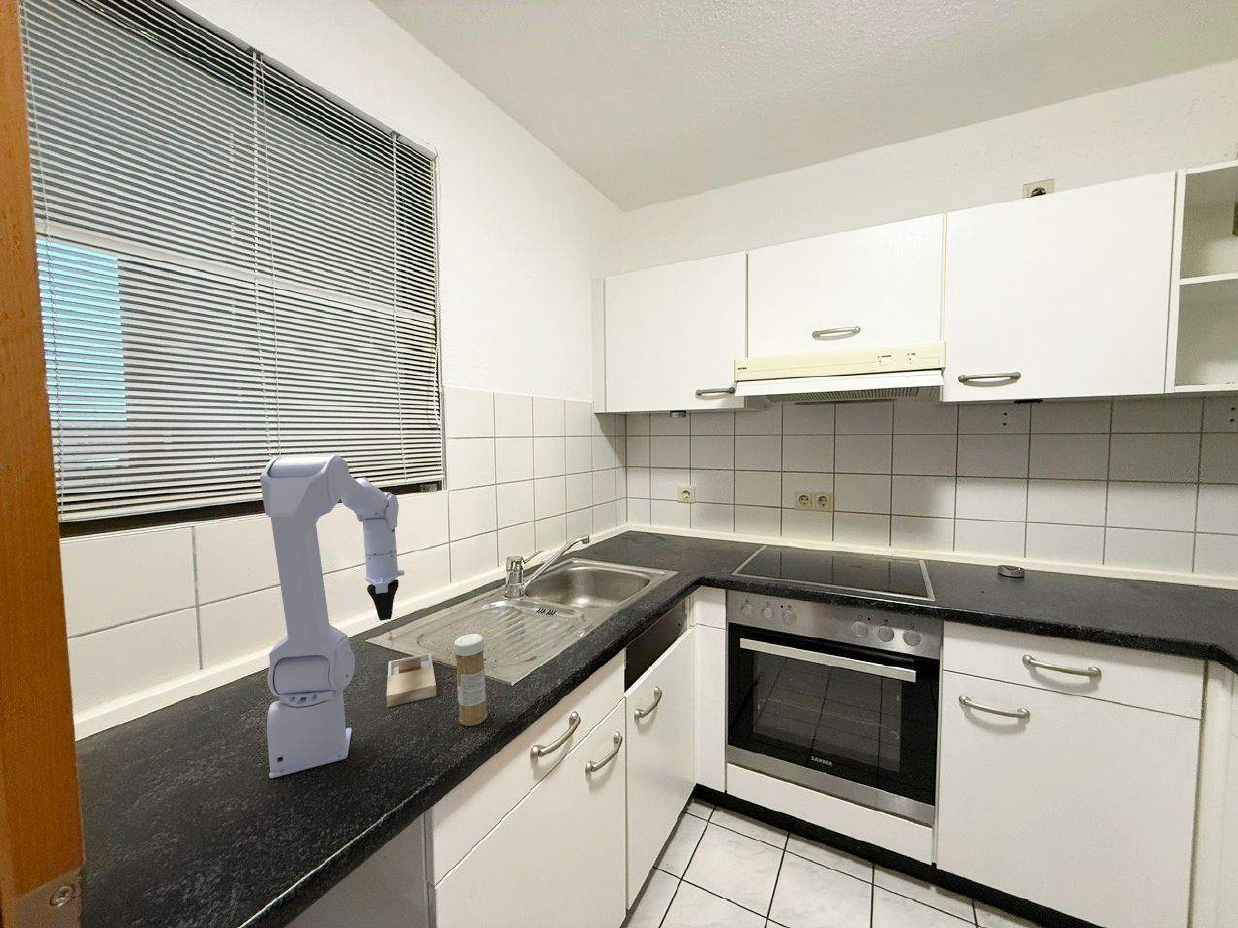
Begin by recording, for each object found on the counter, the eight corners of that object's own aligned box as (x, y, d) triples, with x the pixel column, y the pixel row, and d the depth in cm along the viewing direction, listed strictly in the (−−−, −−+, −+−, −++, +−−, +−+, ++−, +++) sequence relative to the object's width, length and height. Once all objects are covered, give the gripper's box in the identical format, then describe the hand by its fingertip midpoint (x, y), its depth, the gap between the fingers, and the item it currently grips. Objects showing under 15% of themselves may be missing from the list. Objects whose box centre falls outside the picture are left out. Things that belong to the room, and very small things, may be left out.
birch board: (387, 707, 85) (386, 695, 85) (388, 686, 93) (387, 676, 93) (436, 695, 89) (435, 684, 88) (433, 676, 96) (433, 666, 96)
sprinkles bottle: (462, 712, 83) (457, 634, 82) (490, 710, 83) (485, 631, 82) (456, 728, 78) (450, 645, 77) (485, 725, 78) (480, 643, 78)
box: (388, 685, 93) (387, 678, 93) (389, 668, 100) (388, 661, 100) (433, 675, 96) (433, 668, 96) (431, 659, 103) (430, 652, 103)
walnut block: (399, 680, 94) (398, 670, 94) (399, 671, 98) (398, 661, 98) (421, 675, 96) (421, 665, 96) (420, 667, 100) (420, 657, 99)
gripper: (402, 556, 94) (407, 626, 94) (402, 543, 107) (406, 604, 108) (361, 562, 91) (366, 634, 91) (366, 547, 104) (370, 610, 105)
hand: (385, 618), depth 99 cm, fingers closed
